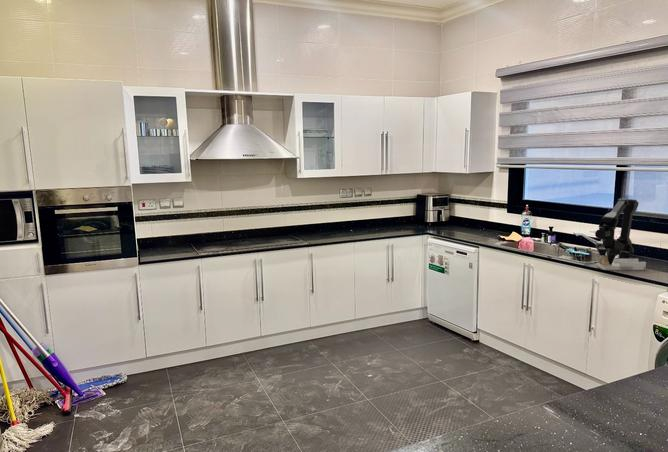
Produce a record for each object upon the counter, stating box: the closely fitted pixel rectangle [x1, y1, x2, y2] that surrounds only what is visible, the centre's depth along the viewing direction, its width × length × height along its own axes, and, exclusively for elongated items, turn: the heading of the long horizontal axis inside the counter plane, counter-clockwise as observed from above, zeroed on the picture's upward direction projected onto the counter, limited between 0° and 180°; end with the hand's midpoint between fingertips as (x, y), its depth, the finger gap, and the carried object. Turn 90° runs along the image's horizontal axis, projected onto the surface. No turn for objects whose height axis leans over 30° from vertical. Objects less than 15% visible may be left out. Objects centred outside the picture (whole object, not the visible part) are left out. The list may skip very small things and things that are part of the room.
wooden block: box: [598, 254, 612, 266], centre depth 271 cm, size 5×5×5 cm
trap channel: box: [596, 258, 647, 271], centre depth 271 cm, size 9×23×4 cm, turn 84°
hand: (606, 262), depth 272 cm, fingers open, 9 cm apart
